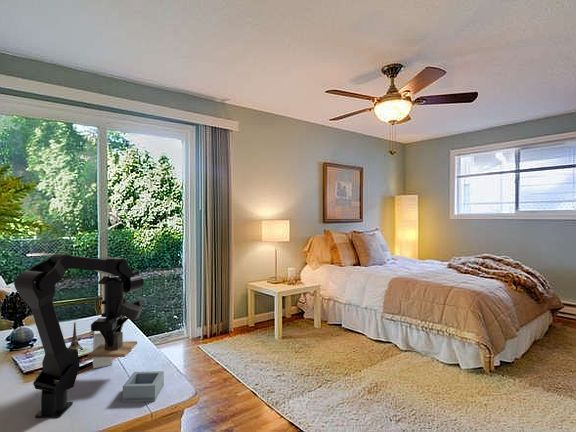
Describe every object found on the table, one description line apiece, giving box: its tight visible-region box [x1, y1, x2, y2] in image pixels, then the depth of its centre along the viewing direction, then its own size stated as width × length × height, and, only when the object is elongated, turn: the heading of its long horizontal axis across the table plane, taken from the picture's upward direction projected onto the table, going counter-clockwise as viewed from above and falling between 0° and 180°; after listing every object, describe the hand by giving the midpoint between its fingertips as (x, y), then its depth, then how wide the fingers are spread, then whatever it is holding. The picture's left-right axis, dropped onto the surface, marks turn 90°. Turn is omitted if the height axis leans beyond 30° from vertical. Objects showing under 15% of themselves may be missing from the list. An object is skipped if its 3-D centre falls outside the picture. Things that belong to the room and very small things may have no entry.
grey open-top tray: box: [122, 371, 165, 403], centre depth 104 cm, size 9×9×4 cm
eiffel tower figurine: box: [68, 321, 84, 352], centre depth 133 cm, size 15×10×13 cm
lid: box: [87, 331, 138, 359], centre depth 113 cm, size 11×11×5 cm
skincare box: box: [92, 331, 114, 369], centre depth 123 cm, size 6×4×12 cm
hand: (113, 343), depth 113 cm, fingers closed on lid, 4 cm apart
